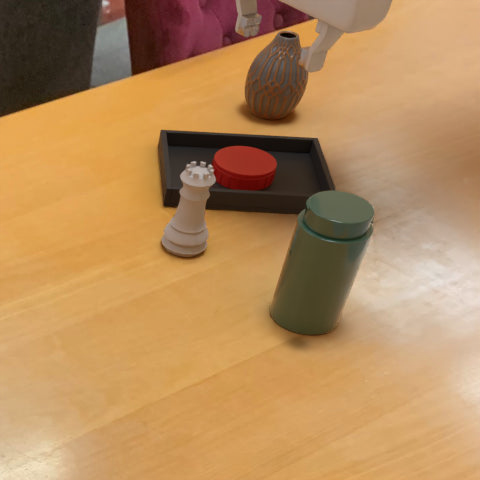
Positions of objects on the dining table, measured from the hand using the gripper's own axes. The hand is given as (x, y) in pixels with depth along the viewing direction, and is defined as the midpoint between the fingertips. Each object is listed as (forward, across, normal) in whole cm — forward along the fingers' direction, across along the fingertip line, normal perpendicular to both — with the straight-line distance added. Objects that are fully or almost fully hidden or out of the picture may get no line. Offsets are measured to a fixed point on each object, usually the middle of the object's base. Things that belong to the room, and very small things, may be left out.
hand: (276, 51), depth 85 cm
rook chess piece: (+14, +7, -13) cm, 20 cm away
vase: (+14, -13, +14) cm, 23 cm away
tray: (+14, -1, 0) cm, 14 cm away
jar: (+14, +21, -9) cm, 27 cm away
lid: (+12, -1, 0) cm, 12 cm away
